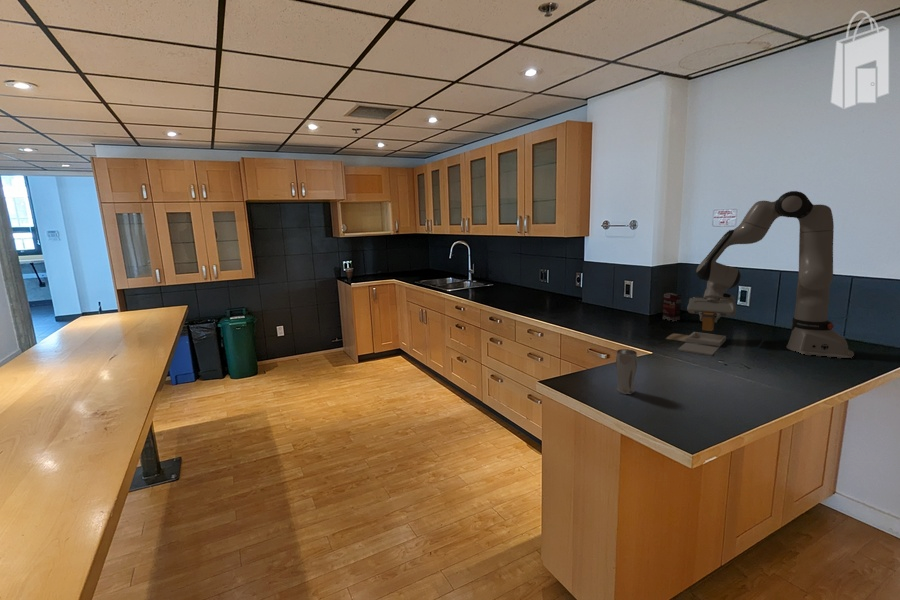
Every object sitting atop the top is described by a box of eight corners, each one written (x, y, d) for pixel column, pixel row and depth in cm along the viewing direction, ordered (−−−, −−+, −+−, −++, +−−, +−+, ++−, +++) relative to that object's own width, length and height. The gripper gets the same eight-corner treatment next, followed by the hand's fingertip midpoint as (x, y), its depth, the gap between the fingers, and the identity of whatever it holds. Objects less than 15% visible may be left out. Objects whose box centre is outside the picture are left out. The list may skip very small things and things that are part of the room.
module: (713, 329, 203) (714, 313, 202) (711, 331, 200) (712, 314, 199) (704, 328, 206) (704, 312, 205) (702, 330, 203) (702, 313, 202)
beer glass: (618, 386, 157) (619, 347, 155) (638, 390, 153) (639, 350, 150) (612, 392, 152) (613, 352, 149) (632, 396, 148) (634, 356, 145)
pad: (691, 337, 214) (692, 335, 214) (685, 343, 205) (685, 341, 205) (672, 335, 220) (672, 333, 220) (665, 340, 212) (665, 338, 211)
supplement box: (661, 319, 254) (663, 293, 251) (667, 318, 256) (668, 292, 253) (674, 321, 247) (676, 295, 244) (680, 320, 249) (681, 294, 246)
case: (725, 341, 205) (726, 335, 204) (712, 356, 185) (712, 349, 185) (693, 337, 214) (693, 331, 214) (677, 350, 195) (678, 344, 194)
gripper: (689, 292, 212) (683, 315, 207) (737, 295, 198) (732, 319, 193) (691, 300, 216) (685, 322, 211) (738, 303, 202) (733, 327, 197)
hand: (708, 321), depth 202 cm, fingers closed on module, 4 cm apart
